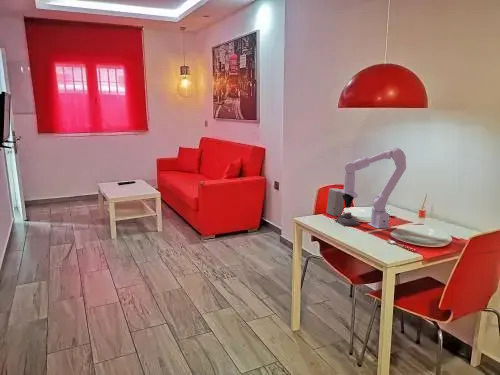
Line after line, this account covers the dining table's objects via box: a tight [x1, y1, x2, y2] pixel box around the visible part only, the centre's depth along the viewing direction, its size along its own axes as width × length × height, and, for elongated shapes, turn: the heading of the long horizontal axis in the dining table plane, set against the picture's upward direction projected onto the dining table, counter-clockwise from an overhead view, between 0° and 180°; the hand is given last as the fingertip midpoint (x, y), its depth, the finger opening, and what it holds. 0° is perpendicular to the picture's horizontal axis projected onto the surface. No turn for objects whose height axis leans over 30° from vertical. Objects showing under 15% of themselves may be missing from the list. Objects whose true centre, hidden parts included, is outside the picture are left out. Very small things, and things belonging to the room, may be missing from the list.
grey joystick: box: [334, 214, 361, 227], centre depth 220 cm, size 10×10×4 cm
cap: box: [342, 211, 352, 218], centre depth 219 cm, size 4×4×5 cm
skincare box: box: [326, 187, 345, 217], centre depth 237 cm, size 8×7×16 cm
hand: (347, 207), depth 218 cm, fingers closed
